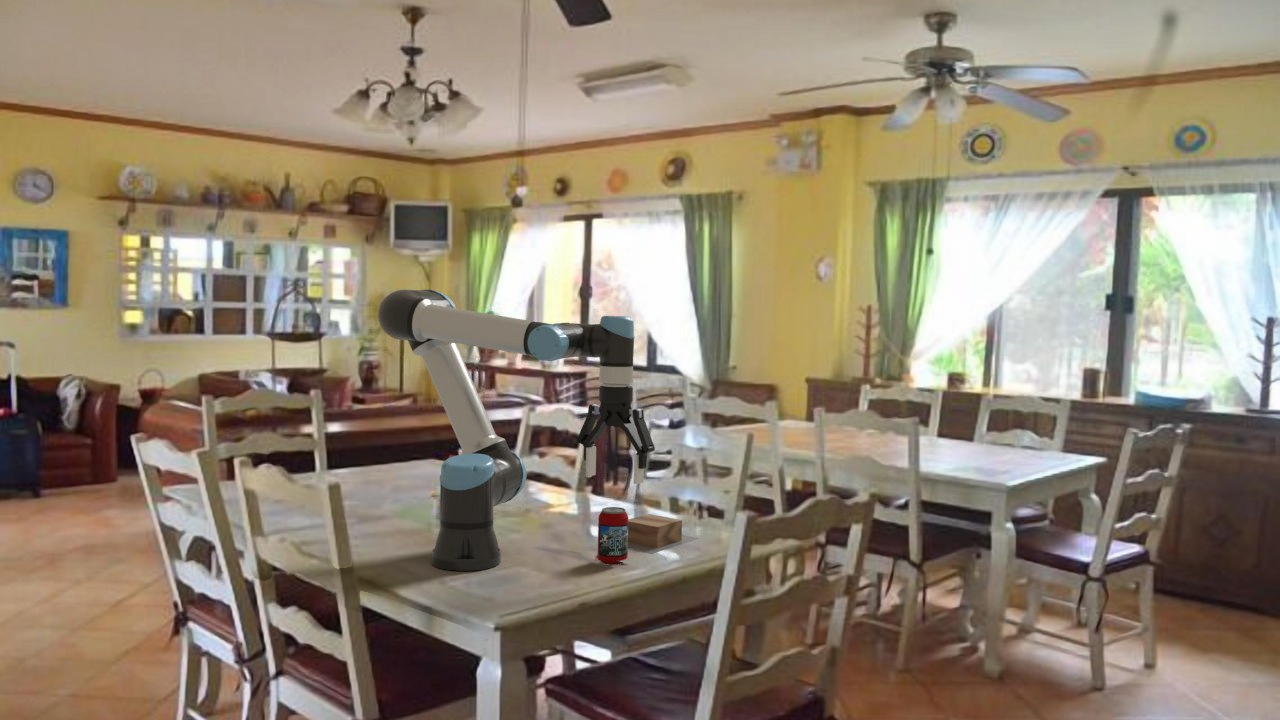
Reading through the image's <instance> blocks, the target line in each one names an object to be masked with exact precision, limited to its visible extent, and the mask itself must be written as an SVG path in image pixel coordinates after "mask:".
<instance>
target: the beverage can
mask: <svg viewBox="0 0 1280 720" xmlns="http://www.w3.org/2000/svg"><path fill="white" fill-rule="evenodd" d="M628 519H629V515H628V513H627V511H626V509H625V508H624V507H619V506H607V507H602V508H601V512H600V513H599V515H598V523H597V524H598V526H597V529H598V531H597V559H598V561H600V562H601V563H602V564H605V565H607V564H609V566H617V565H618V564H619V565H622V564H623V563H624V562H623V561H624V560H626V559H628V553H629V549H628ZM619 565H618V566H619Z"/></svg>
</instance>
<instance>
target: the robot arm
mask: <svg viewBox="0 0 1280 720" xmlns="http://www.w3.org/2000/svg"><path fill="white" fill-rule="evenodd" d="M377 312H378V313H377V317H378V322H379V326H380V327H381V329H382V331H383V332H385V334H386V335H388V336H389V337H391V338H392V339H395V340H401V341H407V342H408V345H409V346H410V349H411V350H412V353H413V355H416V356H418V357H420V358H422V360H423V363H424V364H425V367H426V369H427V371H428V375H429V377H430V378H431V381H432V383H433V386H434V387H435V389H436V392H437V395H438V397H439V400H440V401H441V404H442V406H443V409H444V411H445V413H446V416H447V417H448V420H449V423H450V424H451V427H452V429H453V431H454V433H455V437H456V439H457V442H458V444H459V446H460V448H461V453H460V454H458V455H457V454H456V455H454V456H451V457H448V458H447V459H446V460H444V461H443V462H442V464H441V468H440V474H439V483H440V485H439V487H440V488H439V490H440V492H439V493H440V495H439V496H440V499H439V502H440V503H439V505H440V506H439V508H440V509H439V510H440V511H439V513H440V514H439V530H438V531H439V532H438V534H437V538H436V541H435V545H434V548H433V549H432V552H431V564H432V566H434V567H435V568H438V569H442V570H447V571H454V572H455V571H457V572H458V571H459V572H463V571H464V572H467V571H468V572H470V571H479V570H480V571H481V570H486V569H491V568H494V567H496V566H498V565H500V564H501V557H502V556H501V554H502V552H501V549H500V547H499V544H498V540H497V536H496V533H495V528H494V507H496V506H499V505H501V504H506V503H507V502H510V501H511V500H513V499H514V498H515V497H517V496H518V495H520V493H521V492H522V490H523V489H524V487H525V484H526V482H527V467H526V464H525V462H524V460H523V459H522V457H520V456H519V454H517V453H515V452H513V451H512V450H510V447H509V445H508V443H507V440H506V439H505V438H503V437H501V436H498V435H497V434H496V432H495V429H494V428H493V424H492V423H491V420H490V418H489V416H488V414H487V413H488V412H487V411H486V408H485V407H484V404H483V401H482V400H481V397H480V395H479V393H478V391H477V388H476V386H475V383H474V381H473V378H472V377H471V374H470V372H469V370H468V367H467V365H466V363H465V360H464V358H463V356H462V354H461V352H460V350H459V349H460V348H459V347H458V345H457V344H460V345H464V346H465V345H466V346H472V347H479V348H484V349H490V350H495V351H501V352H507V353H513V354H520V355H525V356H530V357H534V358H536V359H538V360H539V361H545V362H553V361H557V360H562V359H570V358H599V375H598V377H599V381H598V382H599V383H600V384H601V385H600V386H599V388H598V389H599V391H598V393H599V394H598V401H599V402H600V404H599V403H594V404H592V403H591V404H589V405H588V407H587V409H588V410H587V415H586V417H585V420H584V422H583V424H582V427H581V429H580V431H579V433H578V436H577V438H576V443H578V444H581V445H582V447H583V459H584V462H585V477H592V476H597V475H596V474H597V473H596V472H597V446H596V445H595V443H596V442H597V441H598V439H599V438H600V436H601V435H602V434H603V432H604V431H605V430H606V429H607V427H614V428H620V429H621V430H623V431H624V433H625V435H626V436H627V438H628V439H629V441H630V443H631V445H632V446H633V448H634V450H635V451H636V453H635V454H633V456H634V457H633V460H634V461H633V485H639V484H642V483H643V484H644V476H645V469H647V467H648V466H647V461H648V457H647V456H648V453H651V452H654V451H655V450H656V449H655V448H656V447H655V445H654V442H653V439H652V436H651V434H650V431H649V428H648V426H647V423H646V421H645V416H644V415H645V414H644V409H643V408H642V407H640V408H634V409H633V408H632V403H633V400H634V388H633V386H632V384H633V383H634V351H635V347H634V346H635V338H636V337H635V327H634V323H635V322H634V319H633V318H632V317H631V316H628V315H603V316H601V318H600V322H599V323H594V324H591V323H576V322H575V323H572V322H560V323H559V322H556V323H547V322H541V321H533V320H529V319H528V320H527V319H522V318H516V317H509V316H502V315H497V314H491V313H486V312H480V311H478V312H477V311H473V310H467V309H461V308H457V307H456V305H455V303H454V302H453V300H452V299H451V298H450V297H449V296H448V295H447V294H445V293H443V292H441V291H437V290H433V289H420V290H419V289H400V290H395V291H393V292H391V293H390V292H389V294H388V295H386V296H385V297H384V299H382V301H381V302H380V304H379V308H378V311H377ZM599 415H600V417H599ZM598 417H599V419H597V418H598ZM632 419H633V420H632ZM597 420H598V421H597ZM596 421H597V422H596ZM595 424H596V425H595Z"/></svg>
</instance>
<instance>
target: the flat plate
mask: <svg viewBox="0 0 1280 720" xmlns="http://www.w3.org/2000/svg"><path fill="white" fill-rule="evenodd" d="M699 539H701V538H700V537H697V536H696V537H695V536H690V535H685V534H682V541H679V542H675V543H672V544H669V545H666V546H663V547H660V548H654V547H649V546H644V545H639V544H634V543H630V542H628V550H631V551H636V552H639V553H640V552H641V553H645V554H650V555H653V554H655V553H660V552H662V551H665V550H669V549H671V548H674V547H678V546H681V545H684V544H687V543H689V542H693V541H697V540H699Z"/></svg>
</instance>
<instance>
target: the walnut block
mask: <svg viewBox="0 0 1280 720" xmlns="http://www.w3.org/2000/svg"><path fill="white" fill-rule="evenodd" d="M682 530H683V520H682V519H679V518H671V517H667V516H663V515H662V516H660V515H656V514H650V513H648V514H647V513H646V514H644V515H639V516H636V517H632V518H628V542H630V543H634V544H639V545H644V546H649V547H654V548H660V547H663V546H666V545H669V544H672V543H675V542H679V541H682V535H683V533H682V532H683V531H682Z"/></svg>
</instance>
